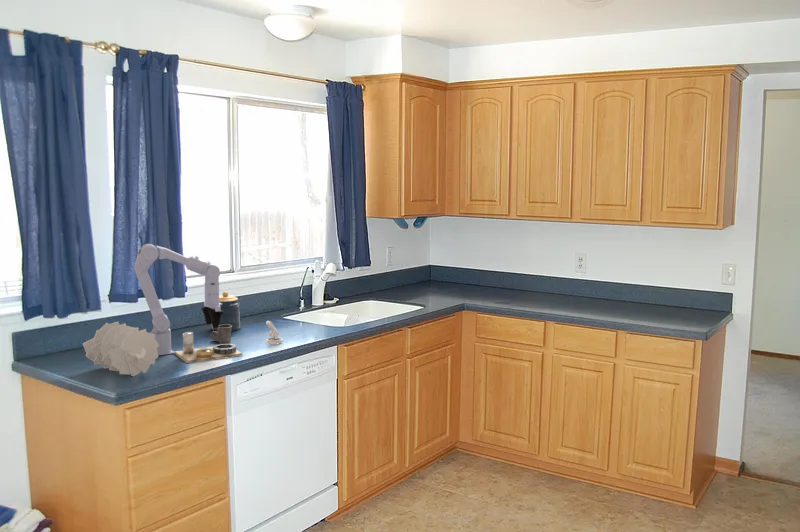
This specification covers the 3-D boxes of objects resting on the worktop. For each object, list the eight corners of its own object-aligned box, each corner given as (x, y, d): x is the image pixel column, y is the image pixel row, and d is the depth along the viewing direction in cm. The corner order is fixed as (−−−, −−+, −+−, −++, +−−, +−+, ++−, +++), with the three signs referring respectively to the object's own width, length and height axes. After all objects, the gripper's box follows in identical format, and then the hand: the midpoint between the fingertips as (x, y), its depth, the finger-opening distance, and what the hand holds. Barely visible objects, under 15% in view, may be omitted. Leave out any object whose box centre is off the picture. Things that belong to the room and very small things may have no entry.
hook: (253, 333, 294) (259, 321, 299) (267, 352, 300) (273, 340, 305) (267, 331, 291) (273, 319, 296) (281, 350, 297) (287, 338, 302)
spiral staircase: (116, 373, 264) (154, 383, 249) (74, 362, 251) (111, 371, 236) (132, 327, 269) (170, 334, 253) (91, 314, 255) (129, 320, 240)
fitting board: (186, 363, 265) (186, 360, 265) (174, 353, 278) (174, 351, 278) (242, 355, 277) (241, 353, 277) (227, 346, 290) (227, 344, 290)
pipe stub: (185, 354, 273) (184, 334, 272) (182, 352, 277) (181, 332, 276) (195, 353, 276) (194, 333, 275) (192, 351, 279) (191, 331, 278)
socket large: (217, 355, 273) (217, 350, 273) (209, 350, 280) (209, 345, 280) (239, 352, 278) (239, 347, 278) (231, 347, 285) (231, 342, 285)
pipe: (218, 339, 303) (217, 321, 302) (236, 344, 295) (235, 325, 294) (206, 341, 299) (205, 323, 298) (224, 346, 291) (224, 328, 290)
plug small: (199, 358, 268) (199, 353, 268) (194, 355, 273) (194, 349, 273) (214, 356, 271) (214, 351, 271) (209, 353, 276) (209, 347, 276)
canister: (244, 329, 322) (244, 292, 320) (217, 333, 315) (216, 294, 312) (234, 324, 333) (233, 288, 330) (207, 327, 325) (206, 290, 323)
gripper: (227, 295, 280) (228, 328, 282) (215, 289, 292) (215, 321, 294) (210, 296, 277) (211, 330, 278) (198, 291, 288) (199, 323, 290)
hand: (212, 325), depth 286 cm, fingers open, 7 cm apart
